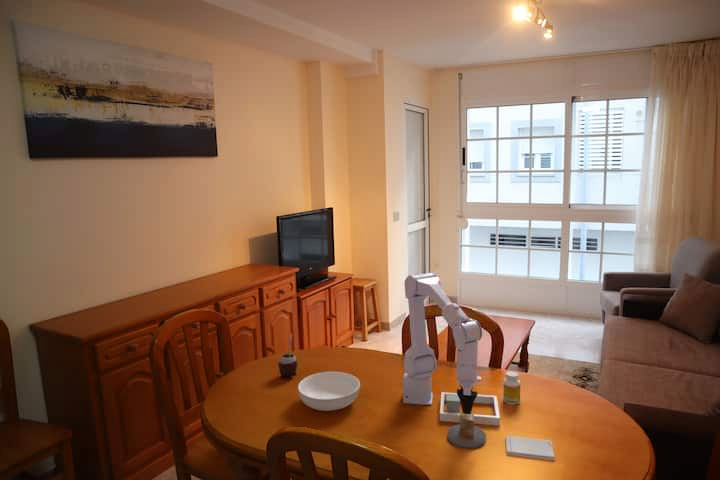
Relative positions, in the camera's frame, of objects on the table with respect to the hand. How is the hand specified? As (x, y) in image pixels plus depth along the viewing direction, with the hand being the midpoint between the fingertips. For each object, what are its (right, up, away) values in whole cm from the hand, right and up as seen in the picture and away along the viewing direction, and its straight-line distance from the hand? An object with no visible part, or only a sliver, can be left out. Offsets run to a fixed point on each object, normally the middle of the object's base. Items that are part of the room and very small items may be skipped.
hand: (466, 406), depth 142 cm
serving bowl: (-41, -7, +23) cm, 48 cm away
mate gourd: (-58, -4, +45) cm, 74 cm away
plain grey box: (-1, -7, +14) cm, 16 cm away
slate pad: (0, -9, +1) cm, 9 cm away
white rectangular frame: (+4, -7, +15) cm, 17 cm away
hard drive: (+16, -11, -5) cm, 20 cm away
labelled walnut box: (0, -8, +1) cm, 8 cm away
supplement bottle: (+20, -6, +21) cm, 29 cm away
